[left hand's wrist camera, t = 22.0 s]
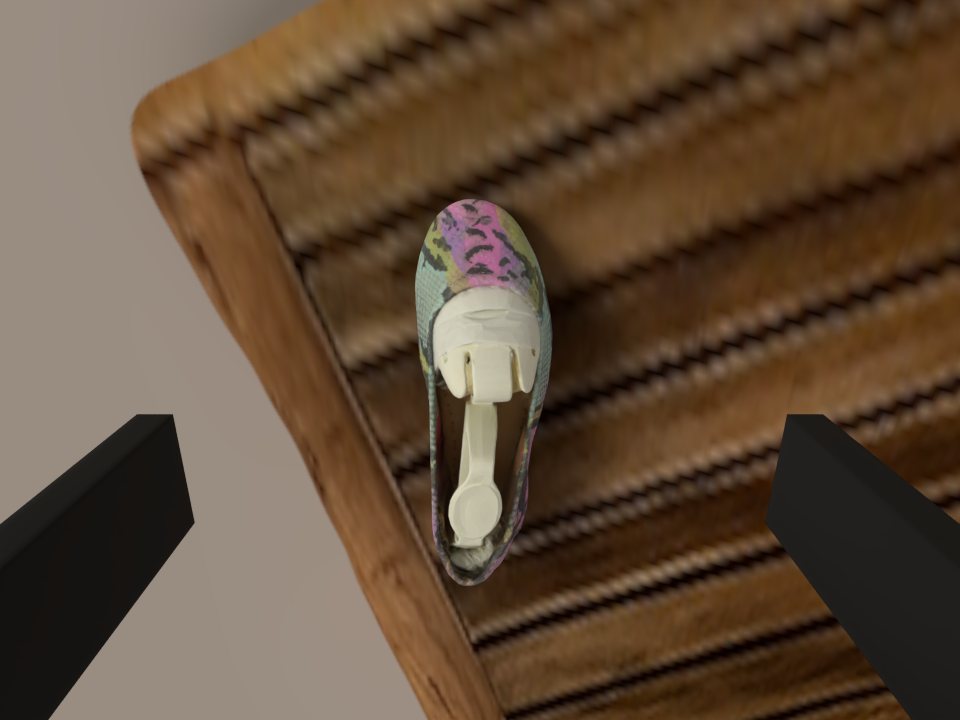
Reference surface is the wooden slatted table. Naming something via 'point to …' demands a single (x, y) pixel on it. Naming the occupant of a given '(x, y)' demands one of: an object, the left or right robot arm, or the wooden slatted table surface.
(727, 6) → the wooden slatted table surface
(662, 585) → the wooden slatted table surface
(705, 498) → the wooden slatted table surface
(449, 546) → the ballet flat
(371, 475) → the wooden slatted table surface
